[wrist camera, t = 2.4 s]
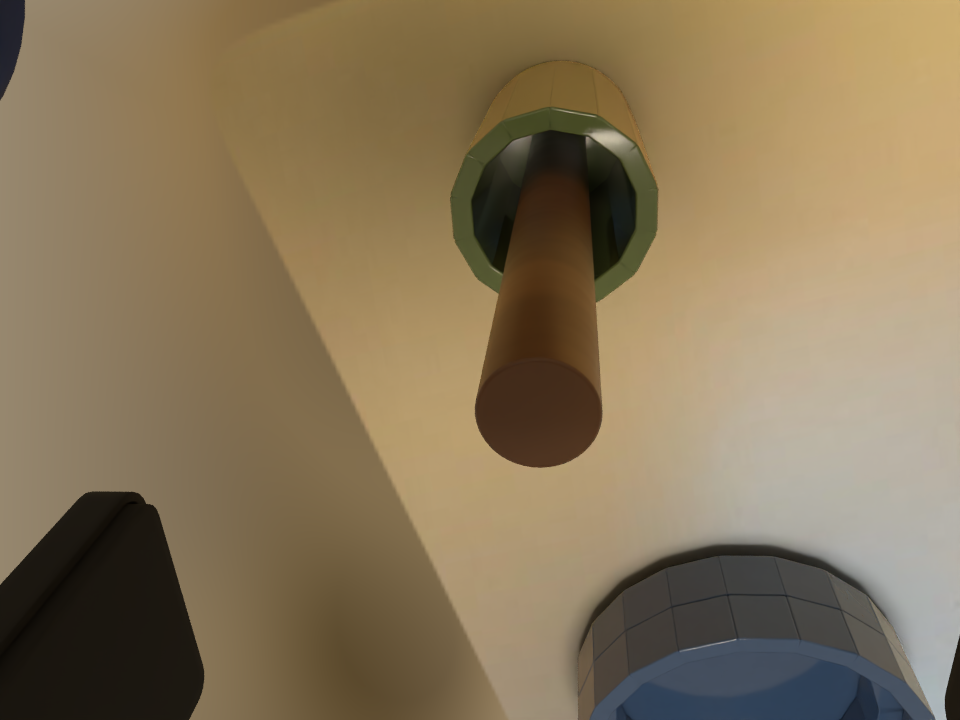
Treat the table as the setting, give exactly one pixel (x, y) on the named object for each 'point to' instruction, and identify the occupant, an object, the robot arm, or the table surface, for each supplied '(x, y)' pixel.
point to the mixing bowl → (745, 648)
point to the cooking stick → (545, 317)
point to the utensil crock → (610, 160)
